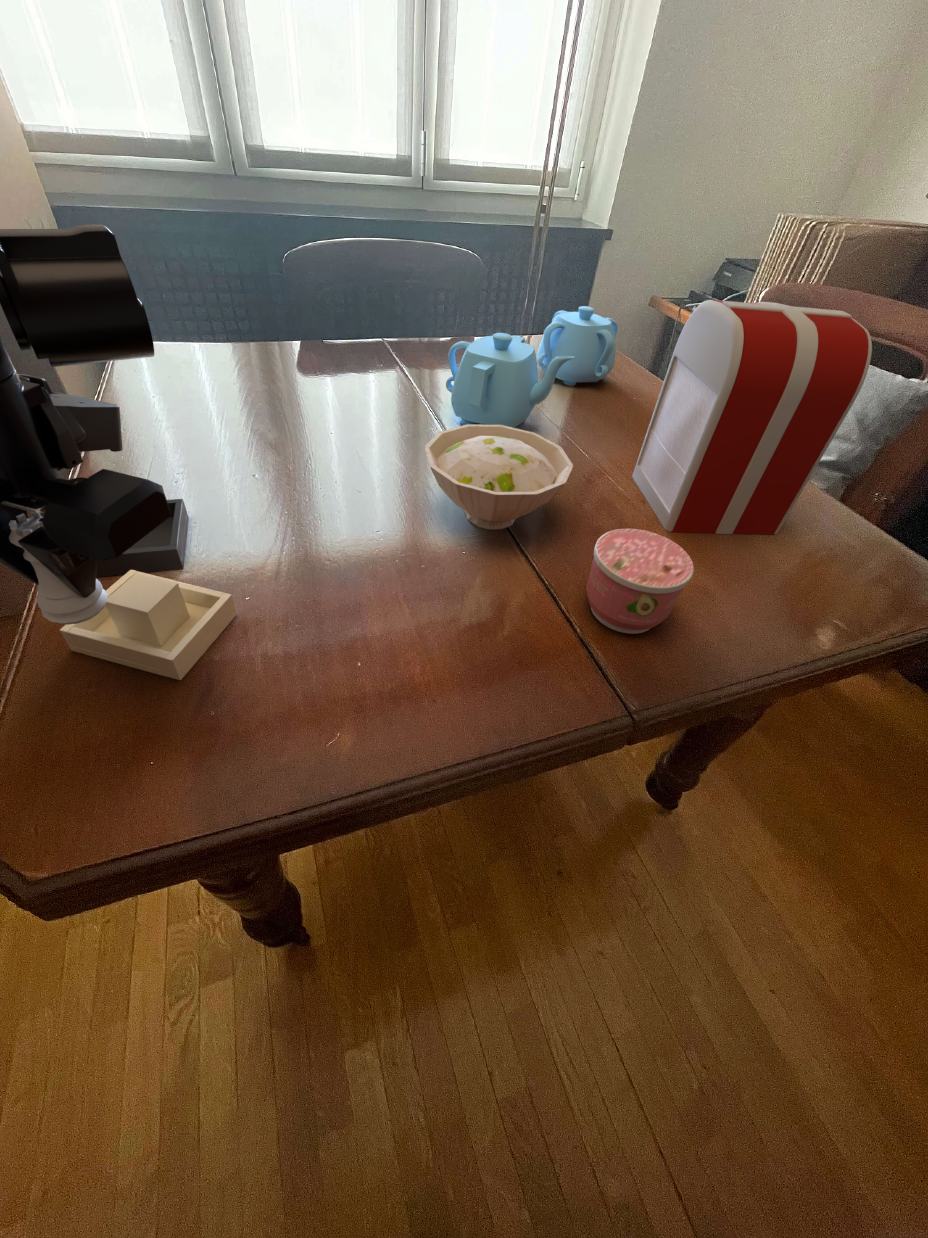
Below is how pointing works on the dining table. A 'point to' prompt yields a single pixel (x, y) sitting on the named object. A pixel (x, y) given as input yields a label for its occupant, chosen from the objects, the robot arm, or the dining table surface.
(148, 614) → the cream block
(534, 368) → the teapot
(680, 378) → the red striped display case
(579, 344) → the decorative pot
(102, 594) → the rook chess piece
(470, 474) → the bowl
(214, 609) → the cream tray
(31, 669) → the dining table surface
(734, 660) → the dining table surface
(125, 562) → the charcoal tray
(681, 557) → the container
